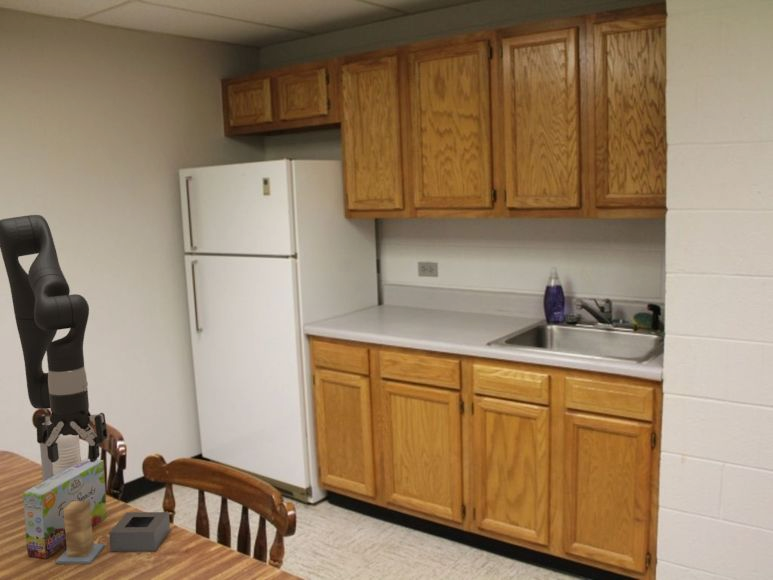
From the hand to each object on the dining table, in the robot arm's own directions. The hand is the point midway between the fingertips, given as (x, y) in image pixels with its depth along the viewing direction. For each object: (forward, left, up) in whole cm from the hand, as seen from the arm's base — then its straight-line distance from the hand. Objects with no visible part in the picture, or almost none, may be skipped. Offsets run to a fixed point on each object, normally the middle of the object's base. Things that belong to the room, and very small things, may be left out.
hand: (74, 460), depth 154 cm
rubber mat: (0, 0, -22) cm, 22 cm away
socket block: (-6, +11, -22) cm, 25 cm away
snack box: (-9, -7, -22) cm, 25 cm away
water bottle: (-20, -13, -22) cm, 33 cm away
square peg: (0, 0, -21) cm, 21 cm away
